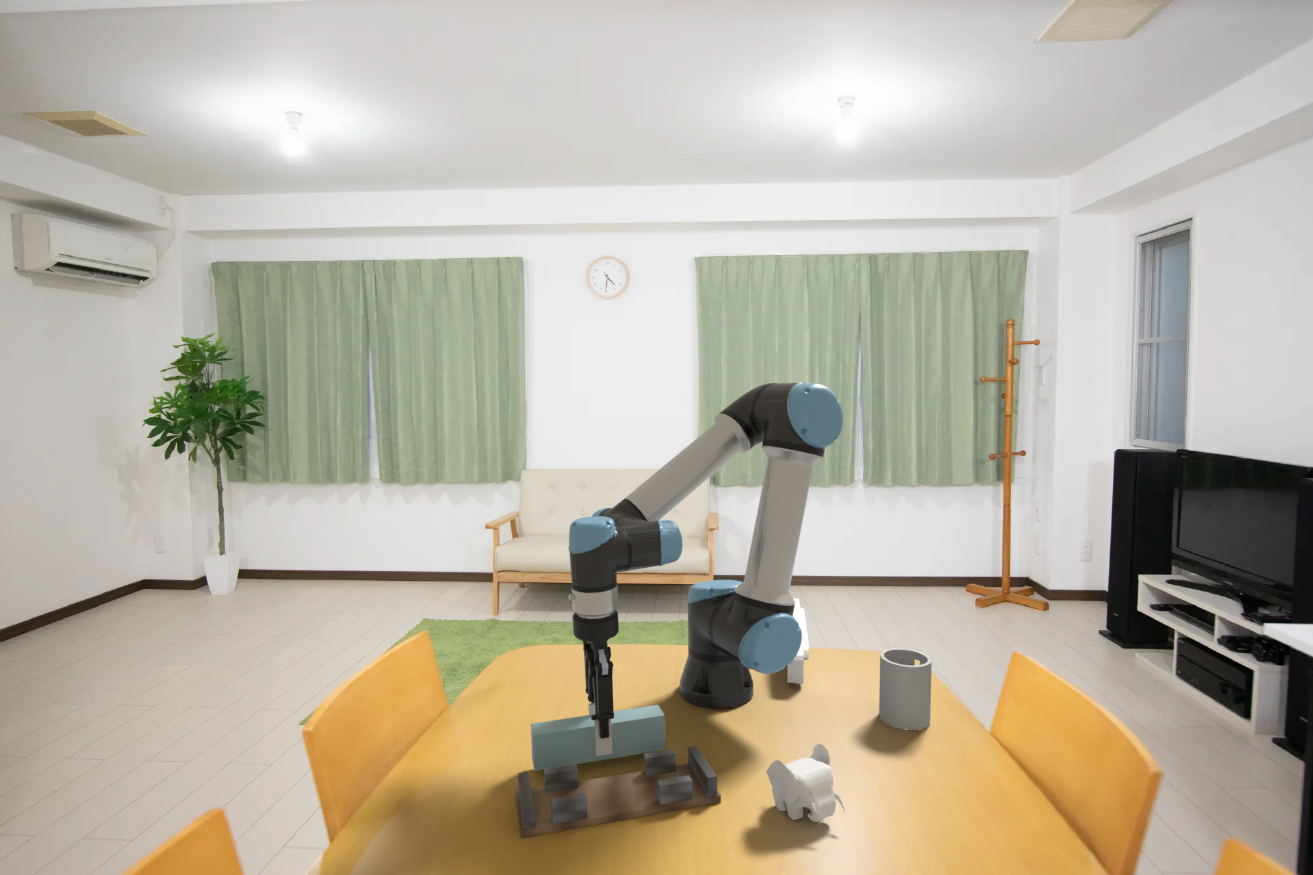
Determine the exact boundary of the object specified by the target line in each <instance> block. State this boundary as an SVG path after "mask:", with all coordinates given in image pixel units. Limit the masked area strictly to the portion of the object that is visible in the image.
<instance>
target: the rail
mask: <svg viewBox="0 0 1313 875" xmlns="http://www.w3.org/2000/svg"><path fill="white" fill-rule="evenodd" d="M593 715H595V714H593ZM591 716H592V715H589V714H588V715H581V716H575V717H574V716H573V717H567V718H566V717H565V718H561V719H554V720H546V721H540V722H533V723H530V736H531V737H530V739H531V760H532V765H533V770H534V772H536V771H542V770H543V771H544V769H549V768H556V767H562V766H569V765H575V764H576V765H580V764H585V763H590V762H598V761H604V760H609V759H610V760H611V759H614V758H616V759H617V758H620V757H628V756H632V755H633V756H634V755H638V754H646V753H652V752H659V751H665V750H666V718H665V717H666V715H665V713H664V712H663V710H662V708H661V707H660V705H659V704H655V705H647V706H641V707H635V708H627V709H621V710H614V718H613V719H611V729H612V753H613V754H608V755H602V756H597V757H596V753H595V730H594V720H592V719H591Z"/></svg>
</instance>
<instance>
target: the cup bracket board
mask: <svg viewBox="0 0 1313 875" xmlns="http://www.w3.org/2000/svg"><path fill="white" fill-rule="evenodd" d="M543 773H544V775H543V776H544V778H543V779H544V786H543V787H536V788H535V787H534V788H532V786H531V782H530V776H529V771H525V772H524V771H523V772H518V773H517V780H518V782H517V784H518V786H517V788H518V791H515V792H514V798H515V806H516V807H515V808H516V813H517V819H518V826H519V832H520V838H521V839H522V838H528V837H533V836H539V835H545V834H550V833H551V834H552V833H556V832H561V831H567V830H573V829H577V828H582V827H583V828H584V827H589V826H594V825H600V824H605V823H606V824H607V823H611V822H616V821H623V820H628V819H633V818H639V817H644V816H650V815H651V816H652V815H656V814H660V813H665V812H667V813H668V812H672V811H679V810H683V809H684V810H685V809H689V808H694V807H700V806H706V805H713V804H717V803H721V802H722V796H721V794H720V792H719V791H718V775H717V773H716V772H715V771H714V769H713V768H712V766H711V765H710V763H709V762H708V760H707V759H706V757H705V756H704V755H703V753H702V751H701V750H700V749H699V747H698V746H697V745H692V746H687V763H684V764H683V763H682V764H678V765H677V753H676V751H675V749H664V750H658V751H652V752H646V753H643V770H641V771H640V770H639V771H634V772H627V773H622V774H617V775H611V776H610V775H609V776H604V777H603V776H602V777H597V778H591V779H586V780H585V779H584V780H580V781H579V768H578V764H574V765H568V766H562V767H556V768H549V769H544V770H543Z"/></svg>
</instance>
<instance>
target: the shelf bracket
mask: <svg viewBox="0 0 1313 875" xmlns="http://www.w3.org/2000/svg"><path fill="white" fill-rule="evenodd" d="M792 598H793V597H792ZM793 599H794V601H795V607H794V612H793V617H794V618H795V619H796V621H797V622H798V623H799V627H800V628H801V631H802V641H801V646H800V649H799V651H798V653H797V655H796V657H795V658H794V659H793V661H792V662H791V663H790V664H787V683H788V684H798V685H799V684H800V685H804V664H805V663H804V661H809V654H810V653H809V651H810V650H809V639H808V638H809V636H808V630H807V629H808V628H807V622H806V615H805V614H806V613H805V609H804V607H801V605H800V604H801V603H800V598H793Z"/></svg>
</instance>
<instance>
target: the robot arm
mask: <svg viewBox="0 0 1313 875" xmlns="http://www.w3.org/2000/svg"><path fill="white" fill-rule="evenodd" d="M843 411H844V410H843V408H842V405H841V402H840V401H839V400H838V398H837V396H836V394H835V392H834V391H832V390H831V389H830V388H829V387H827V386H825V385H824V384H819V383H814V382H813V383H811V382H805V381H802V382H801V381H800V382H789V383H787V382H785V383H778V382H777V383H776V382H770V383H764V384H761V385H759V386H756V387H754V388H752V389H750V390H749V391H747V392H745V393H743V395H741V396H739V397H737V399H735V400H734V401H733V402H731V403H730V404H729V405H728V406H726V407H725V408H723V410H722V411H720V412H719V413H717V415H716V416H715V417H714V421H713V422H714V423H713V424H712V425H711V426H709V427H708V429H707V430H705V431H703V432H702V433H701V434H700V435H699V436H698V437H697V438H695V440H693V441H692V442H691V443H689V444H688V445H687V446H686V447H685V448H683V449H682V450H681V451H680V452H679V453H677V454H676V455H675V456H673V457H672V458H671V459H670V460H669V461H668V462H666V463H665V464H664V465H663V466H661V468H660V469H658V470H657V471H656V472H655V473H653V474H652V475H651V476H650V477H648V478H647V479H646V480H645V481H644V482H642V483H641V484H640V485H638V486H637V487H636V488H635V489H633V491H631V492H630V493H629V494H628V495H627V496H626V497H624V498H623V499H622V500H620V502H618V503H617V504H616V505H614V506H613V507H603V508H601V509H598V510H596V511H595V512H594V513H593V514H592V515H591V516H584V517H579V518H577V519H575V520H573V521H572V522H571V523H570V525H569V533H568V544H569V545H568V551H569V563H570V580H571V584H570V585H571V592H572V593H570V594H568V596H567V597H568V600H569V601H572V602H571V603H572V611H573V612H574V613H573V615H572V631H573V632H572V633H573V636H574V637H575V638H576V639H577V640H580V641H582V645H583V646H582V647H583V648H582V650H583V656H584V657H583V658H584V677H585V678H584V679H585V689H584V690H585V693H586V694H587V701H588V702H589V703H588V715H592V716H591V719H592V720H594V730H595V753H596V757H597V756H602V755H608V754H613V753H612V729H611V719H613V718H614V711H615V710H614V686H613V685H614V684H613V683H614V682H613V674H614V673H613V671H614V663H613V661H612V660H611V658H612V651H611V650H612V649H611V646H608V645H609V644H608V641H609V640H610V639H612V638H615V637H616V636H617V635H618V634H619V630H620V627H619V626H620V625H619V624H620V623H619V612H618V611H617V610H618V608H619V597H618V595H619V594H618V593H619V591H618V590H619V589H618V574H619V573H624V572H628V571H635V570H641V569H647V568H653V567H663V566H665V565H669V564H671V563H672V564H673V563H676V562H677V561H678V560H679V559H680V557H681V555H682V553H683V548H684V547H683V536H682V533H681V530H680V528H679V526H678V525H677V524H676V522H674V521H673V520H669V519H665V520H663V518H664V517H665V516H666V515H667V514H668V513H669V512H671V511H672V510H673V509H674V508H675V507H676V506H677V505H679V504H680V503H681V502H683V501H684V499H687V498H686V497H688V496H689V495H690V494H692V493H693V492H694V491H695V490H696V489H698V488H699V487H700V486H701V485H702V484H703V483H705V482H706V481H707V480H708V479H709V478H710V477H711V476H713V475H714V474H716V472H717V471H719V470H720V469H721V468H722V467H724V466H725V465H726V464H727V463H728V462H729V461H730V460H732V459H733V458H734V457H735V456H736V455H737V454H739V453H741V454H745V453H747V452H749V451H750V450H751V449H752V448H753V447H755V446H757V445H760V444H762V445H761V449H762V451H763V452H764V454H765V455H766V456H767V460H766V461H767V462H766V466H765V472H764V477H763V482H762V486H761V493H760V496H759V502H758V507H757V512H756V517H755V518H756V519H755V523H754V527H753V532H752V533H753V534H752V538H751V543H750V548H749V554H748V559H747V564H746V568H745V574H744V579H743V581H740V580H735V579H734V580H732V579H714V580H705V581H700V582H696V583H694V584H693V585H691V586H690V587H689V588H688V594H687V601H686V602H687V603H686V604H687V640H688V642H687V643H688V644H687V647H688V649H687V650H688V652H687V659H686V661H685V664H684V668H683V669H682V673H681V676H680V679H679V694H680V696H681V697H682V698H683V699H684V700H685V701H686V702H689V703H691V704H693V705H696V706H699V707H703V708H710V709H727V708H728V709H729V708H734V707H738V706H742V705H745V704H746V703H747V702H749V701H751V700H752V698H753V697H754V681H753V678H752V675H751V671H750V670H753V671H755V672H757V673H760V674H763V675H770V674H775V673H778V672H780V671H782V670H784V669H785V668H786V667H787V666H788V664H790V663H791V662H792V661H793V659H794V658H795V657H796V655H797V653H798V651H799V649H800V646H801V641H802V631H801V628H800V627H799V623H798V622H797V621H796V619H795V618H794V617H793V612H794V607H795V601H794V599H793V596H792V595H791V593H790V589H791V585H792V584H791V583H792V578H793V572H794V568H795V562H796V558H797V557H796V556H797V553H798V548H799V541H800V537H801V530H802V526H803V521H804V516H805V510H806V505H807V504H806V503H807V501H808V493H809V489H810V486H811V485H810V483H811V479H812V475H813V469H814V466H815V465H817V464H818V463H820V462H821V461H822V460H824V455H825V449H826V448H827V447H829V446H831V445H832V444H834V442H835V440H837V439H839V436H840V435H841V433H842V430H843V426H844V413H843ZM661 519H662V520H661ZM593 714H595V715H593Z"/></svg>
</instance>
